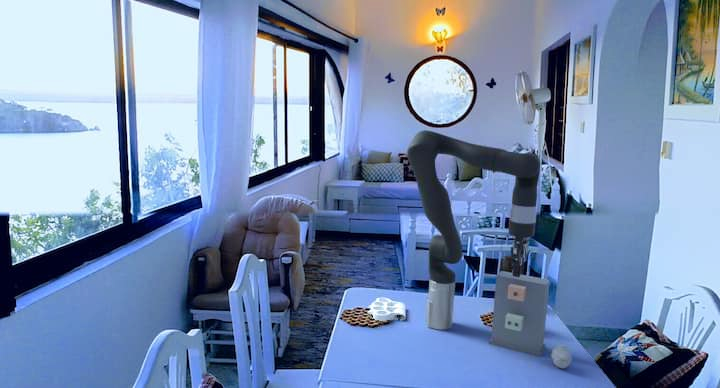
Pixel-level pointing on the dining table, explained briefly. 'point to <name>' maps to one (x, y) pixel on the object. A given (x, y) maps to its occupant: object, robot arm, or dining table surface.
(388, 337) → the dining table surface
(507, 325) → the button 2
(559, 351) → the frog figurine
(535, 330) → the large grey rectangular box
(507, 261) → the lantern
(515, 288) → the pink rectangular block
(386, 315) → the white bumpy piece
